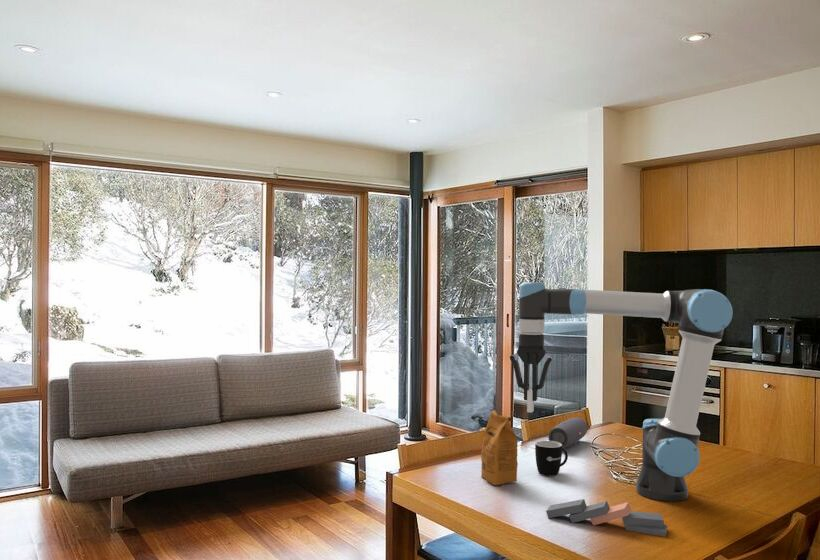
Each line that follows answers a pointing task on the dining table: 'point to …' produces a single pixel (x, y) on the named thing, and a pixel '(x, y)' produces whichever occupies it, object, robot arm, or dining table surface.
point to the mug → (549, 457)
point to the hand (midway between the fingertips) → (530, 411)
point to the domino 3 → (613, 513)
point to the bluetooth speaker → (568, 432)
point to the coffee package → (499, 451)
